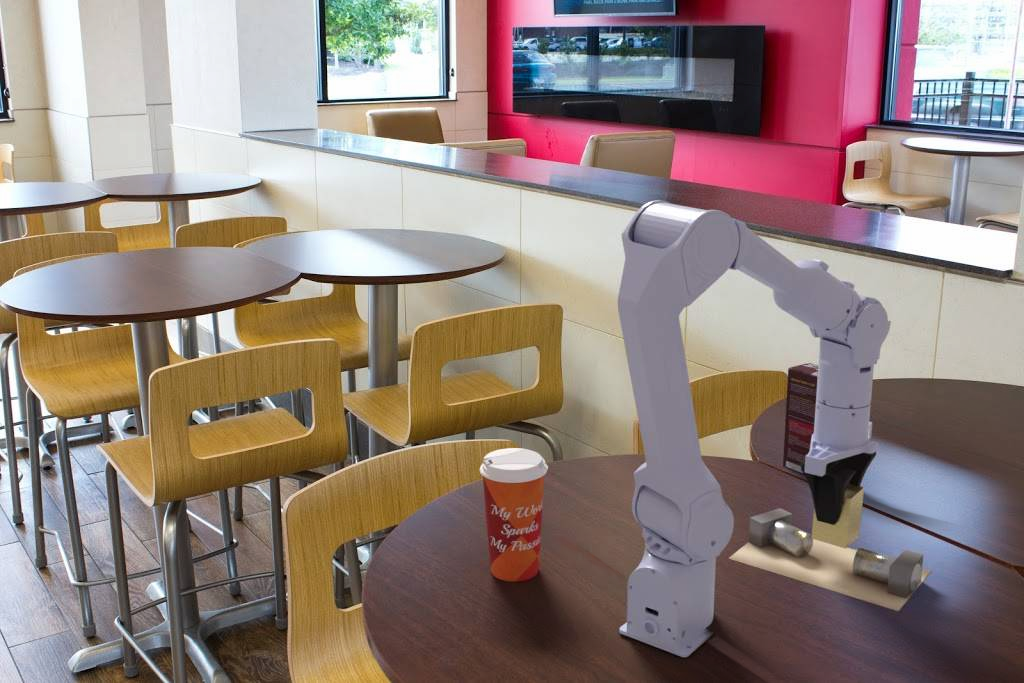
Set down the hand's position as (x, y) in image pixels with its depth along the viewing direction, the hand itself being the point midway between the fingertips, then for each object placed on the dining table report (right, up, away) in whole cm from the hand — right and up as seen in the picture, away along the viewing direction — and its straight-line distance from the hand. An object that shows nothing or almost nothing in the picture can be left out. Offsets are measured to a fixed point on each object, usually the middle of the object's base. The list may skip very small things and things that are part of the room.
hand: (834, 514), depth 115 cm
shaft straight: (+5, -7, -2) cm, 9 cm away
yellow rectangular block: (0, -3, +1) cm, 3 cm away
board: (0, -7, +2) cm, 8 cm away
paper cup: (-36, -7, +4) cm, 37 cm away
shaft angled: (-4, -5, +6) cm, 9 cm away
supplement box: (+6, 0, +29) cm, 30 cm away
